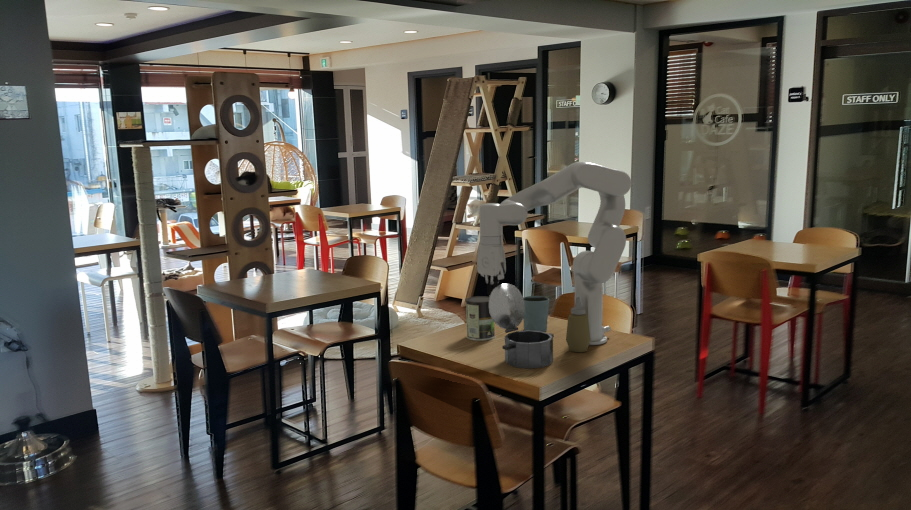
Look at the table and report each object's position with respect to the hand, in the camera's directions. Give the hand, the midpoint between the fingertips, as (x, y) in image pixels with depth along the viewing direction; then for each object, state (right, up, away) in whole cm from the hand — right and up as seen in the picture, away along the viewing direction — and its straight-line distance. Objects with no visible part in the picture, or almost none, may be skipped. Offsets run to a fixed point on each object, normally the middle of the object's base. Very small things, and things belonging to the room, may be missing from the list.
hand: (492, 294), depth 237 cm
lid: (+5, -4, -6) cm, 8 cm away
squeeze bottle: (+29, -19, 0) cm, 34 cm away
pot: (+11, -21, -10) cm, 26 cm away
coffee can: (-3, -17, +19) cm, 25 cm away
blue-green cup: (+18, -15, +26) cm, 35 cm away
